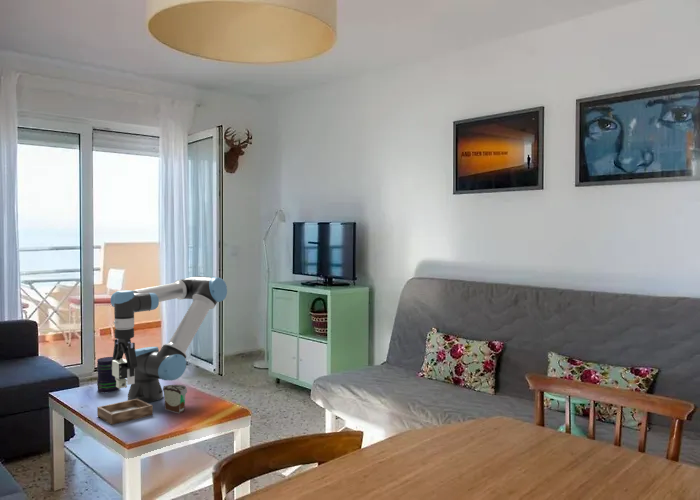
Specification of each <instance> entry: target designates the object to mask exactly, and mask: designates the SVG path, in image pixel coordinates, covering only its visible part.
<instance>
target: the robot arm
mask: <svg viewBox="0 0 700 500" xmlns="http://www.w3.org/2000/svg"><path fill="white" fill-rule="evenodd" d="M227 294H228V287H227V283H226V282H225V280H224V279H223V278H221V277H217V276H200V275H197V276H196V275H195V276H190V277H186V278H182V279H177V280H175V281H174V282H172V283H165V284H161V285H155V286H149V287H145V288H139V289H138V288H137V289H133V290H129V289H126V290H116V291H115V292H113V293H112V294H111V296H110V305H111V306H112V307H113V308H114V321H113V324H114V338H115V339H114V343H113V344H114V346H113V352H112V353H113V354H112V357H113V359H112V360H116V359H120V358H122V359H123V358H124V356H125V360H126V361H127V364H128V367H127V378H126V380H127V386H129V385H130V387H129V390H128V394H127V401H128V400H133V399H139V400H142V401H144V402H146V403H151V402H156V401H159V400H161V399H162V398H164V391H163V388H162V386H161V383H160V380H163V381H176V380H179V379H180V378H181V377H182V376H183V375H184V373H185V371H186V368H187V354H186V352H187V351H188V349H189V347H190V346H191V343H192V341H193V339H194V338H195V336H196V334H197V332H198V331H199V329H200V327H201V325H202V323H203V322H204V320H205V318H206V316H207V314H208V313H209V311H210V310H212V309H215V307H216V306H217V303H220V302H224V300H225V299H226V297H227ZM175 299H177V300H179V301H180V300H192V303H191V304H190V306H189V307H188V309H187V311H186V313H185V315H184V316H183V318H182V319H181V321H180V322H179V325H178V326H177V328H176V329H175V332H174V333H173V335H172V337H171V338H170V339H169V341H168V343H164V344H163V345H162V346H161V348H160V350H159V347H158V346H148V347H141V348H136V343H135V342H132V340H131V339H132V338H133V339H134V337H135V328H134V327H135V313H140V312H150V311H154V310H156V309H157V308H158V307H159V304H160V303H161V302H166V301H170V300H175ZM116 379H118V378H117V377H115V380H116Z"/></svg>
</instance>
